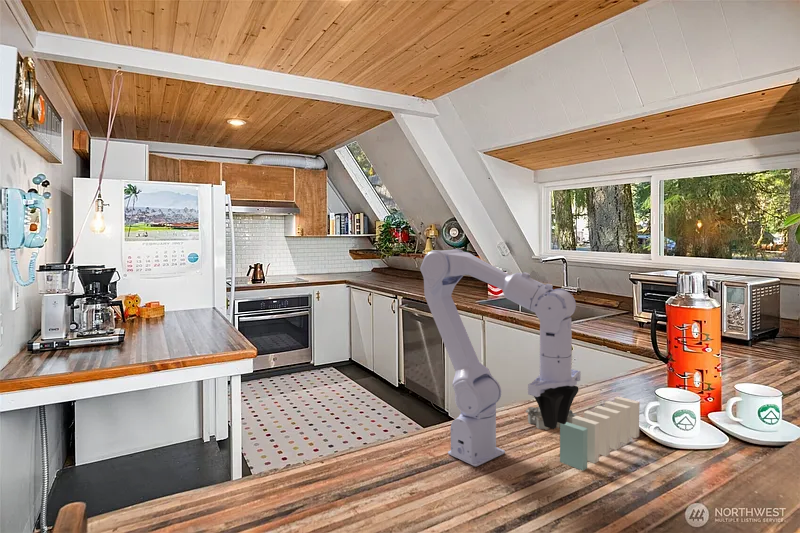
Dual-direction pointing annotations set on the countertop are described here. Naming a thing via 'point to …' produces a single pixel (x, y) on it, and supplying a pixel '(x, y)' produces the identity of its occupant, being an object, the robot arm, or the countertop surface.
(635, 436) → the domino
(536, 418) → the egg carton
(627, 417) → the domino
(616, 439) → the domino
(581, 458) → the domino
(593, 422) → the domino
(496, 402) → the robot arm
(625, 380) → the countertop surface
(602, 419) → the domino
